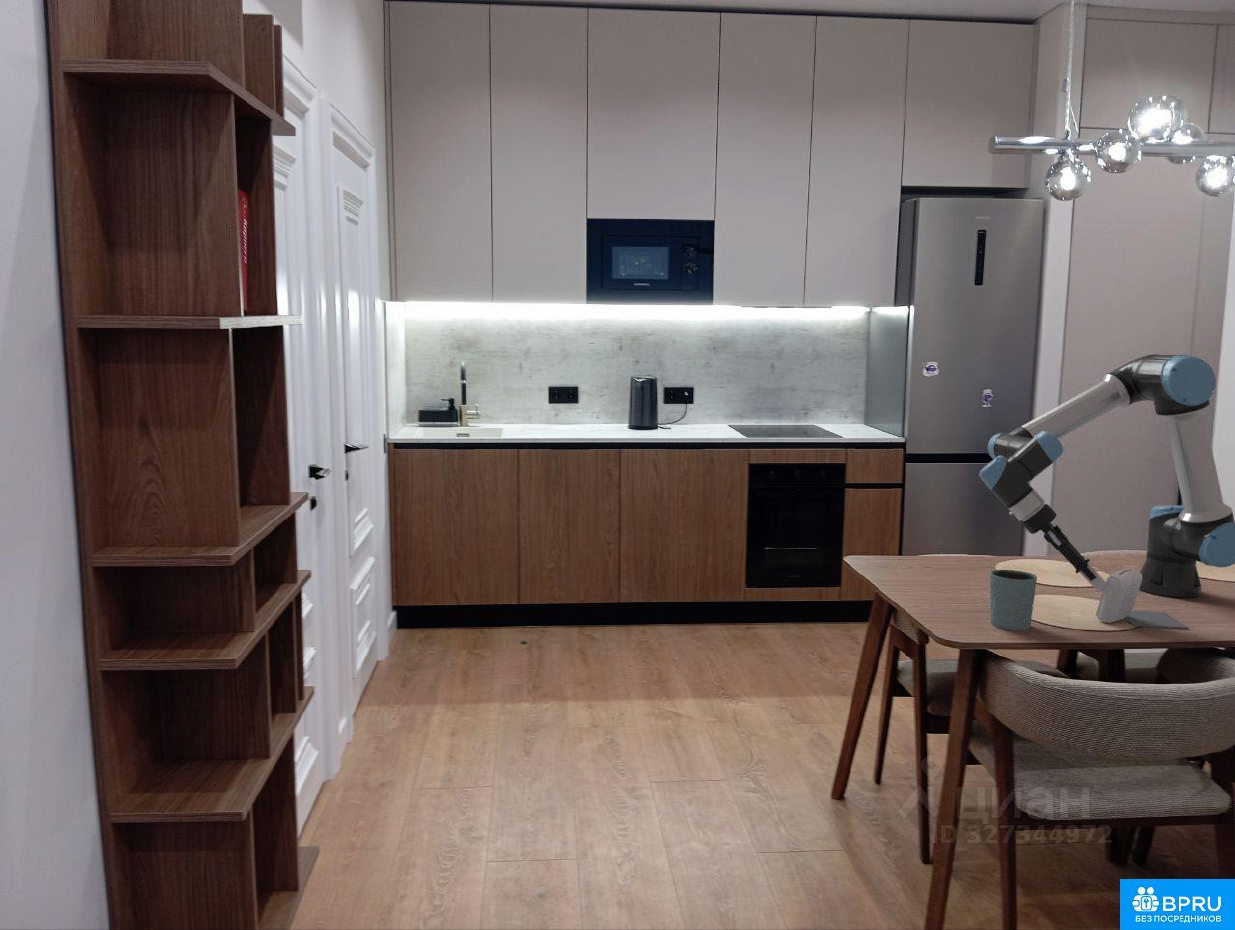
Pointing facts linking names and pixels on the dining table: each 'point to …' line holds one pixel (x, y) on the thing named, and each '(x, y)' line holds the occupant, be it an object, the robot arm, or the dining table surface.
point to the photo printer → (1119, 595)
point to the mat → (1154, 620)
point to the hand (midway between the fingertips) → (1103, 588)
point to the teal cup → (1012, 599)
